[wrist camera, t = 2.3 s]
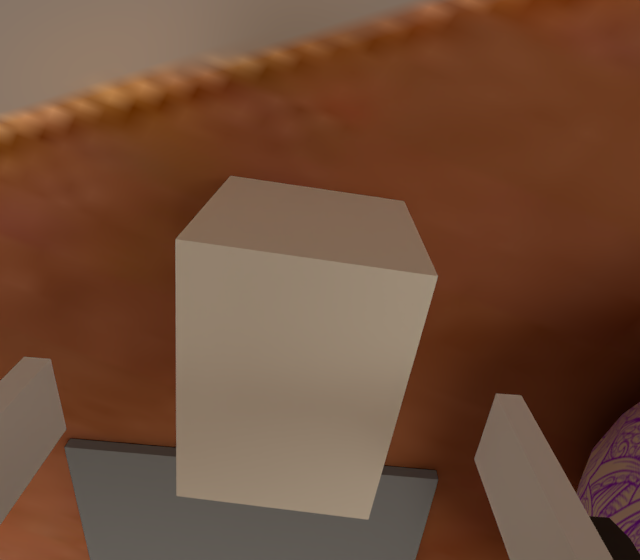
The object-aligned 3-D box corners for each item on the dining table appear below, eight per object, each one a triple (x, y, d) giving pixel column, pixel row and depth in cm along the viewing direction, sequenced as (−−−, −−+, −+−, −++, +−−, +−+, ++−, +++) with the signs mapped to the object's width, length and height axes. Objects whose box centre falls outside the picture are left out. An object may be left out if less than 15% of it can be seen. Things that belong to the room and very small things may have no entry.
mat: (436, 470, 25) (438, 479, 24) (395, 614, 31) (396, 624, 31) (70, 438, 25) (64, 447, 24) (103, 589, 31) (99, 599, 30)
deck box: (231, 175, 18) (175, 239, 12) (403, 200, 18) (438, 276, 12) (220, 373, 23) (176, 495, 16) (359, 391, 23) (368, 519, 17)
